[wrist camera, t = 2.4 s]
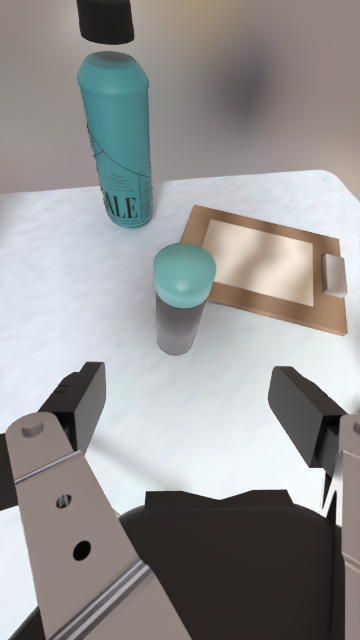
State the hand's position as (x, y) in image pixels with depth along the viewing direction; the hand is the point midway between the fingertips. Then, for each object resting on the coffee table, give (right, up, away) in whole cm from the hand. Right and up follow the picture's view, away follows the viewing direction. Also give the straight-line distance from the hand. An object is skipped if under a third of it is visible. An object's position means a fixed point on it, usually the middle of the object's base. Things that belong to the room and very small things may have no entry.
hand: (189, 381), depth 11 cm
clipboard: (+10, +11, +21) cm, 26 cm away
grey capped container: (-1, +1, +15) cm, 15 cm away
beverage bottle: (-7, +17, +24) cm, 30 cm away
